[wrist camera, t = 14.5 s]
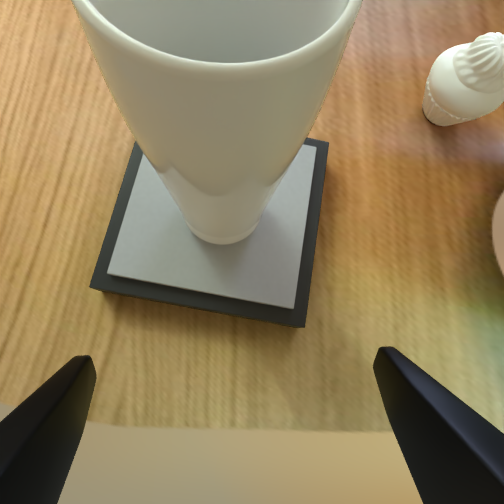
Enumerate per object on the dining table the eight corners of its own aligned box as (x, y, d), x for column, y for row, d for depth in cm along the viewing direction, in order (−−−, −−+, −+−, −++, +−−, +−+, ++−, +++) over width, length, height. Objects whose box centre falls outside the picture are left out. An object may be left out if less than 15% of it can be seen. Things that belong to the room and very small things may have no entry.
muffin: (462, 81, 29) (534, 6, 22) (479, 140, 27) (563, 77, 21) (399, 82, 28) (454, 4, 21) (414, 142, 27) (478, 79, 20)
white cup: (150, 204, 21) (-21, -88, 6) (226, 147, 22) (231, -195, 8) (218, 279, 20) (201, 142, 5) (292, 214, 21) (433, -29, 7)
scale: (297, 328, 22) (307, 327, 20) (100, 291, 22) (85, 286, 19) (321, 156, 26) (331, 138, 23) (152, 120, 25) (145, 98, 23)
